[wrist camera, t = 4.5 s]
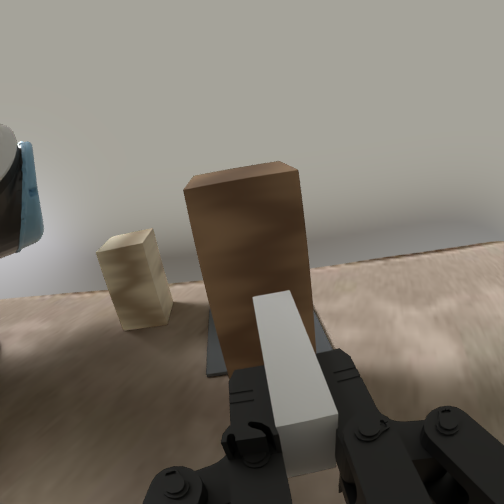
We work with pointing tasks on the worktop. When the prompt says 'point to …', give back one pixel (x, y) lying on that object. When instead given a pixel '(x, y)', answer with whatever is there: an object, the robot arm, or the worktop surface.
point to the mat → (216, 357)
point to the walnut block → (250, 251)
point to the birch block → (136, 279)
